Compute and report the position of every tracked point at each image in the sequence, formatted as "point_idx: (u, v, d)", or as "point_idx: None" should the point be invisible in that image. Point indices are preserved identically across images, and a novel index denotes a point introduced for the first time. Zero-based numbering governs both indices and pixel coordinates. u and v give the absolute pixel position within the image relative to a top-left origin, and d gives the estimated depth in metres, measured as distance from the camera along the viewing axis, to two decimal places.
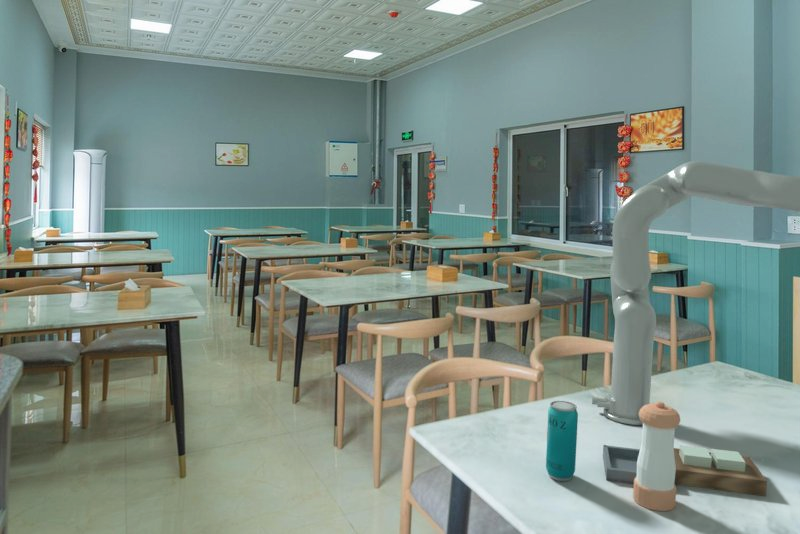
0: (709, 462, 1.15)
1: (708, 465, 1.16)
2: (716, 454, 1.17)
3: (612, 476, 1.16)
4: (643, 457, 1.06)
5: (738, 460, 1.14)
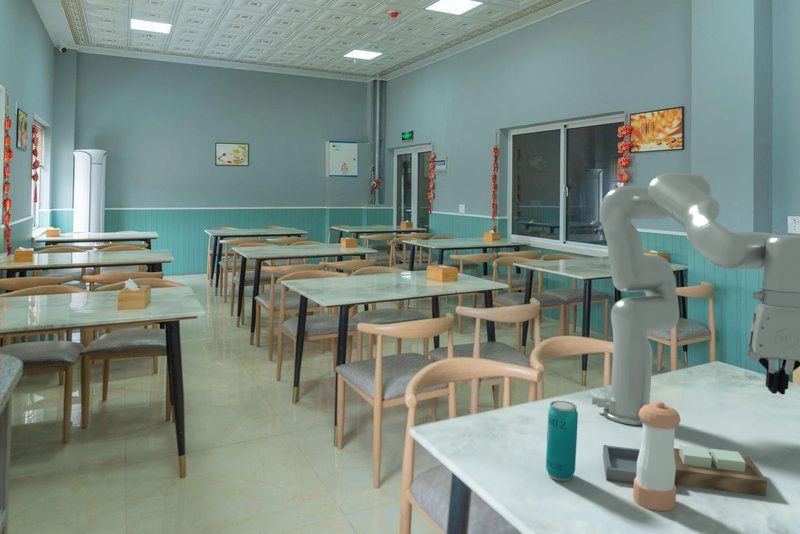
0: (709, 462, 1.15)
1: (708, 465, 1.16)
2: (716, 454, 1.17)
3: (612, 476, 1.16)
4: (643, 457, 1.06)
5: (738, 460, 1.14)
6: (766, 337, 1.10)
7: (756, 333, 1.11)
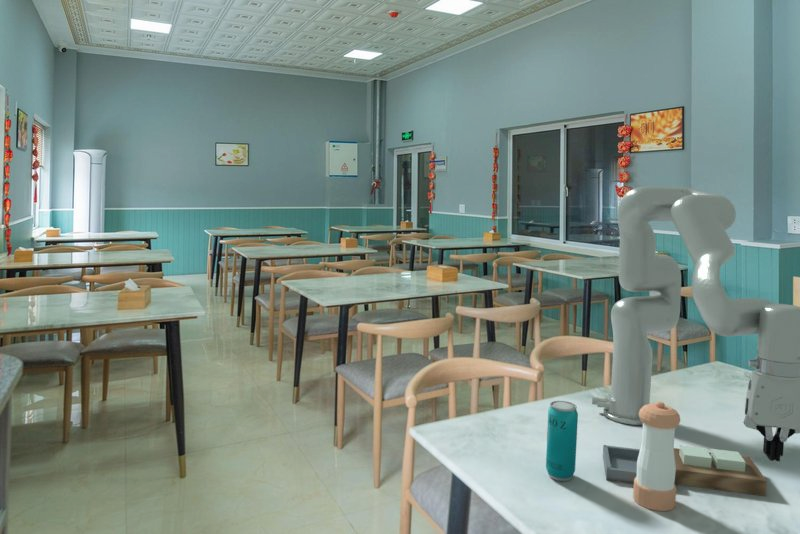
0: (709, 462, 1.15)
1: (708, 465, 1.16)
2: (716, 454, 1.17)
3: (612, 476, 1.16)
4: (643, 457, 1.06)
5: (738, 460, 1.14)
6: (761, 405, 1.11)
7: (751, 401, 1.12)
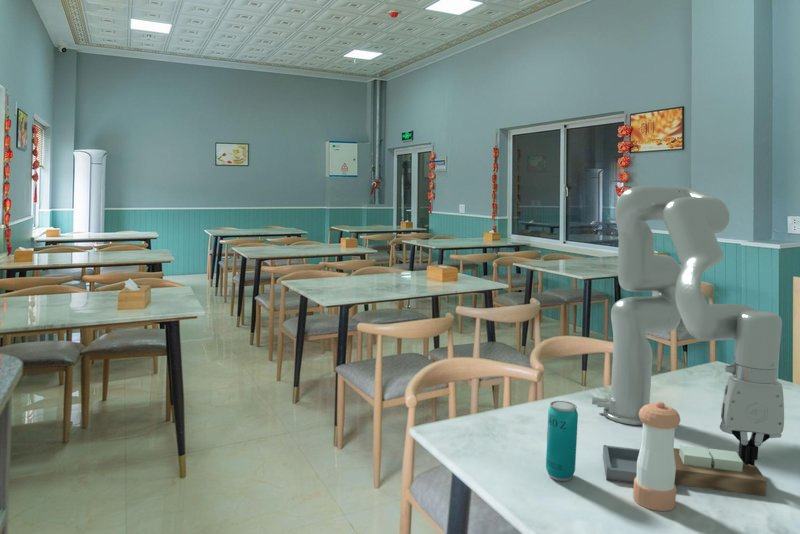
0: (709, 462, 1.15)
1: (708, 465, 1.16)
2: (714, 454, 1.17)
3: (612, 476, 1.16)
4: (643, 457, 1.06)
5: (736, 460, 1.14)
6: (737, 411, 1.13)
7: (727, 406, 1.14)
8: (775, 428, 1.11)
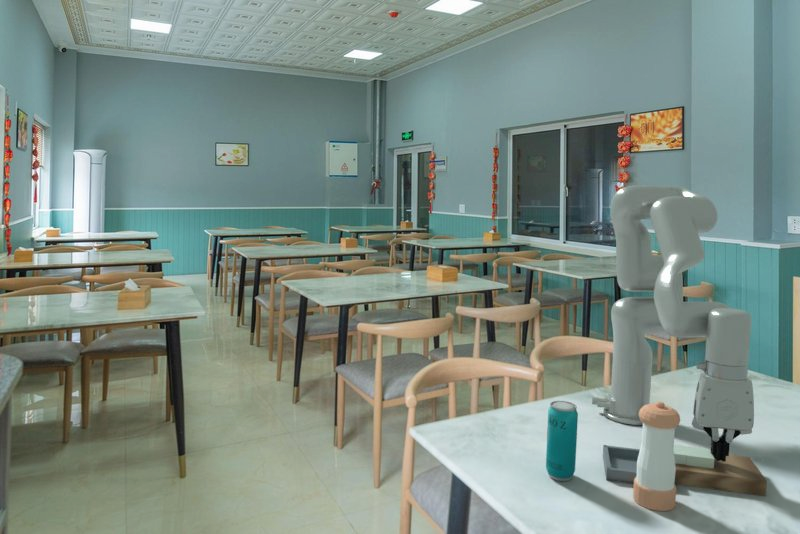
0: (684, 459, 1.17)
1: (683, 462, 1.17)
2: (686, 451, 1.18)
3: (612, 476, 1.16)
4: (643, 457, 1.06)
5: (707, 457, 1.16)
6: (708, 407, 1.14)
7: (698, 403, 1.15)
8: (745, 424, 1.13)
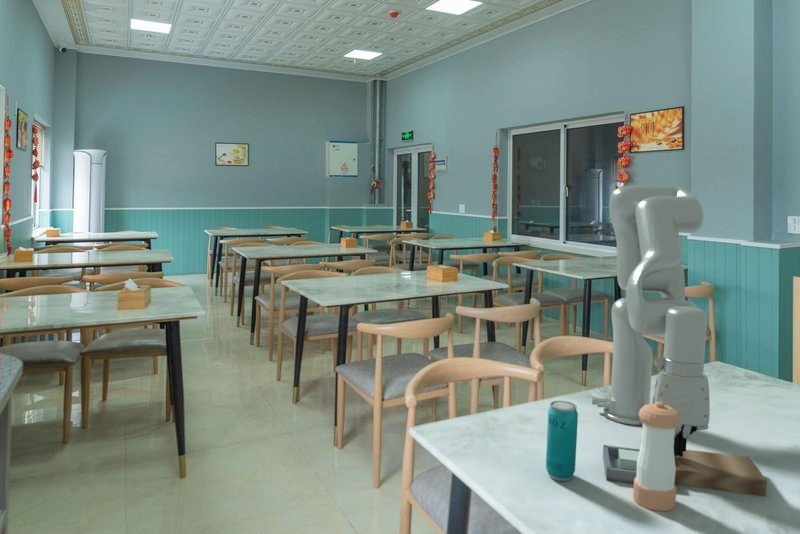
0: (621, 463, 1.20)
1: (622, 460, 1.20)
2: None
3: (612, 476, 1.16)
4: (643, 457, 1.06)
5: None
6: (665, 403, 1.16)
7: (656, 399, 1.17)
8: (701, 420, 1.15)
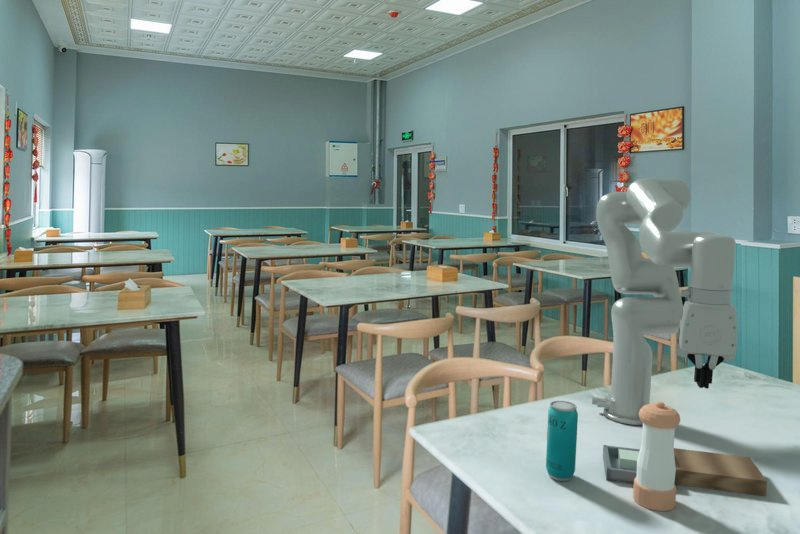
0: (621, 463, 1.20)
1: (622, 460, 1.20)
2: None
3: (612, 476, 1.16)
4: (643, 457, 1.06)
5: None
6: (691, 333, 1.14)
7: (682, 329, 1.15)
8: (728, 350, 1.12)
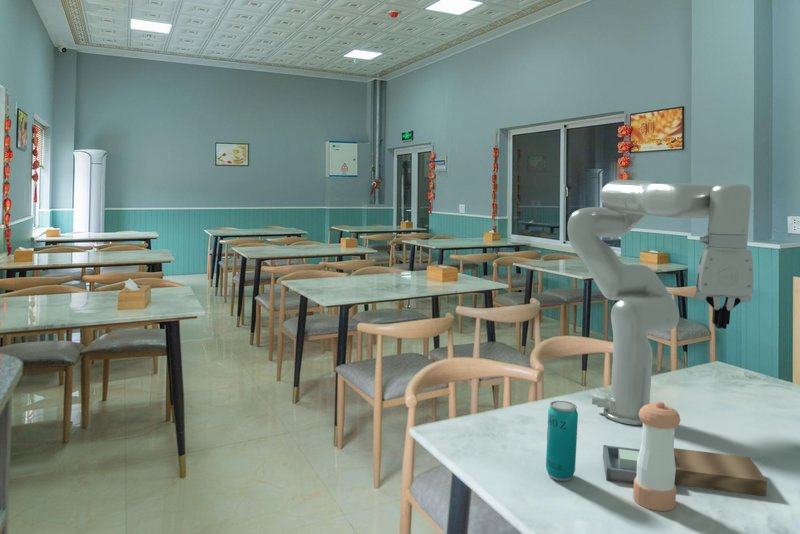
0: (621, 463, 1.20)
1: (622, 460, 1.20)
2: None
3: (612, 476, 1.16)
4: (643, 457, 1.06)
5: None
6: (710, 276, 1.22)
7: (701, 273, 1.23)
8: (745, 291, 1.20)
